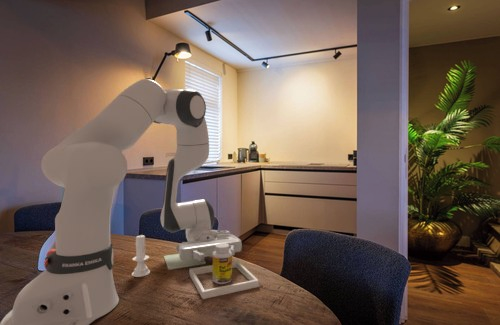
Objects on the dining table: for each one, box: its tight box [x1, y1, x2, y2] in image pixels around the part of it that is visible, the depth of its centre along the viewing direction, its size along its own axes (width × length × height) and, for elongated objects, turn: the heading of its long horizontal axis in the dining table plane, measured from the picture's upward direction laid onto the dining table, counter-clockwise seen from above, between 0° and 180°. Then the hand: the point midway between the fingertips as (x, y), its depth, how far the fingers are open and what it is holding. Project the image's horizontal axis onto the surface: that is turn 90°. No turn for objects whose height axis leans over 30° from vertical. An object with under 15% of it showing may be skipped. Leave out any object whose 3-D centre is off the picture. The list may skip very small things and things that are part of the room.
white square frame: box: [188, 260, 260, 300], centre depth 80 cm, size 16×16×2 cm
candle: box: [131, 234, 151, 278], centre depth 85 cm, size 5×5×12 cm
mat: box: [163, 253, 207, 271], centre depth 95 cm, size 12×12×1 cm
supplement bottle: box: [212, 243, 233, 285], centre depth 80 cm, size 6×6×10 cm
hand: (217, 255), depth 83 cm, fingers open, 8 cm apart
